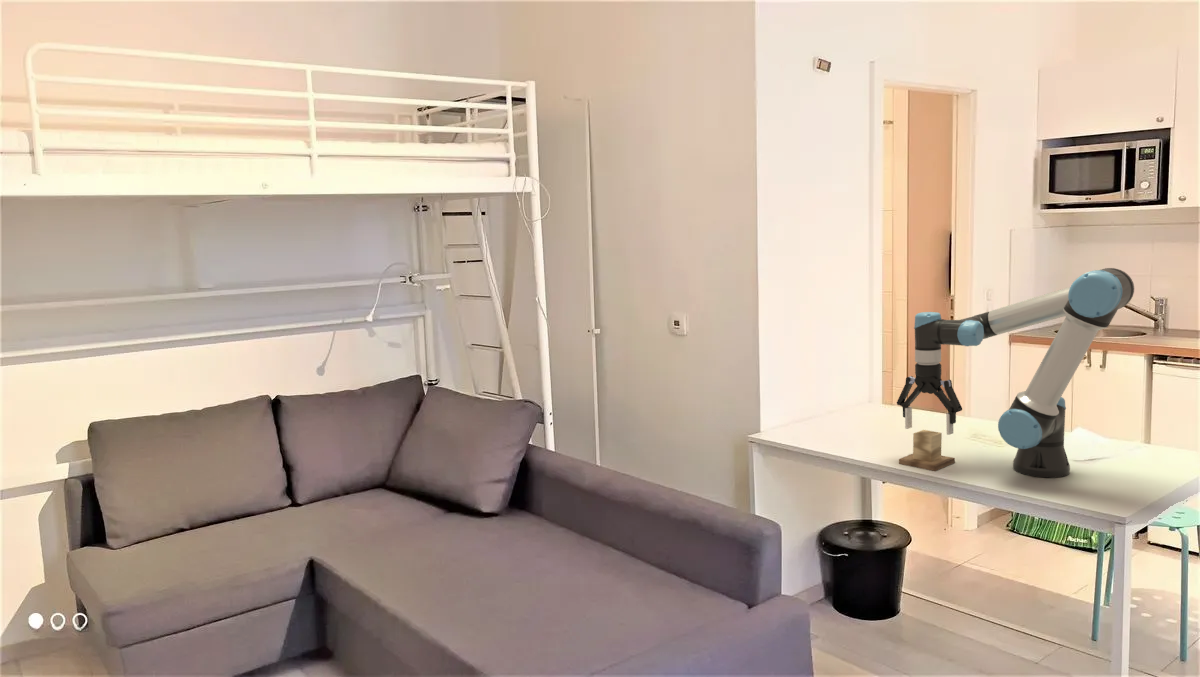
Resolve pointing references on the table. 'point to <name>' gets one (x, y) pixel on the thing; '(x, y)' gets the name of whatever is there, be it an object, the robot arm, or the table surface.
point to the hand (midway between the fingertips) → (928, 431)
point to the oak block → (927, 445)
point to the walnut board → (927, 465)
